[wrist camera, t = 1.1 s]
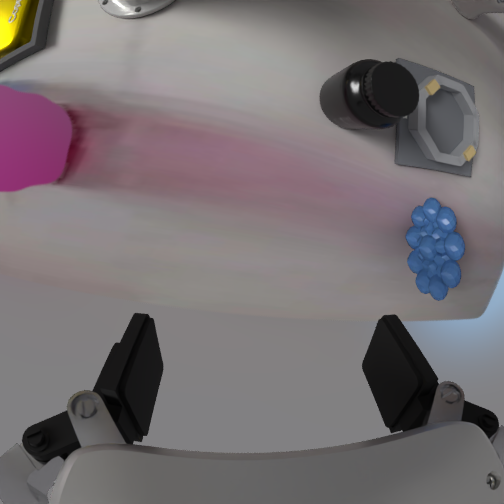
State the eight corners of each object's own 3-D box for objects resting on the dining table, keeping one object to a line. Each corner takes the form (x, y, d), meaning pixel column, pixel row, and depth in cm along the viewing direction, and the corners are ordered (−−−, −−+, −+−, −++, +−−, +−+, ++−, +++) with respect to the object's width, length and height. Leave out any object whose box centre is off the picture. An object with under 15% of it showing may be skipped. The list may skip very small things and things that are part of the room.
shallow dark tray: (-12, 1, 13) (-19, -1, 11) (68, -48, 14) (61, -54, 11) (-30, 90, 21) (-39, 91, 19) (45, 47, 22) (35, 44, 20)
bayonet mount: (395, 59, 25) (410, 54, 22) (470, 86, 26) (486, 86, 22) (394, 163, 31) (409, 167, 28) (467, 175, 31) (482, 181, 28)
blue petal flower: (422, 269, 37) (466, 313, 26) (387, 268, 37) (429, 318, 26) (440, 194, 33) (497, 223, 22) (404, 188, 32) (461, 217, 21)
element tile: (31, 47, 22) (12, 43, 17) (-22, 73, 21) (-40, 73, 16) (54, -29, 16) (40, -38, 11) (-4, 3, 15) (-19, -1, 10)
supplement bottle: (382, 109, 28) (442, 107, 17) (342, 139, 30) (391, 147, 19) (348, 63, 26) (398, 38, 15) (305, 93, 28) (340, 74, 17)
